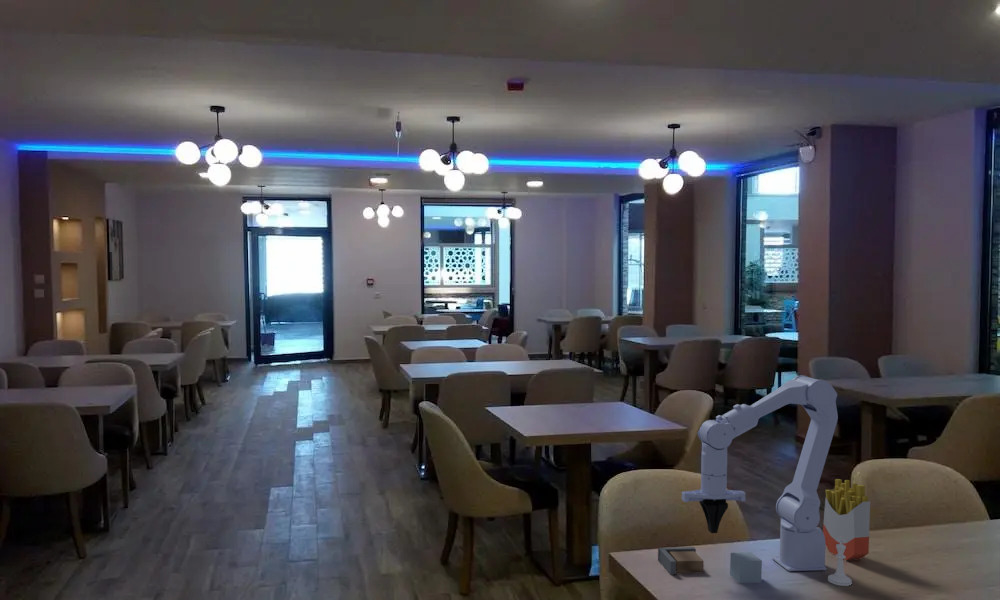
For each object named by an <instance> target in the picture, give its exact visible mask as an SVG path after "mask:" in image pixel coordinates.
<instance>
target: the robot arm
mask: <svg viewBox="0 0 1000 600" xmlns="http://www.w3.org/2000/svg"><path fill="white" fill-rule="evenodd" d="M837 397H838V393H837V391H836V390H835V388H834V386H833V385H832V384H831V383H830V382H829V381H827V380H823V379H817V378H813V377H809V376H807V375H803V374H802V375H801V374H800V375H797V376H795V377H794V378H792V379H789V380H786V381H785V382H784V383H783V384H782V385H781V386H780V387H778V388H777V389H775V390H773V391H772V392H770V393H769V394H767V395H765V396H764V397H762V398H761V399H759V400H758V401H755V402H754V403H752V404H751V405H748V404H746V403H742V404H738V403H737V404H735V405H733V406H732V409H731V410H729V411H727V412H726V413H724V414H722V415H720V414H718V415H717V416H715V419H708V420H705V421H704V422H703V423H702V424H701V426H700V427H699V430H698V431H697V436H698V438H699V440H700V441H701V462H700V464H701V465H700V466H701V467H700V469H701V470H700V472H701V473H700V489H695V490H687V491H681V501H683V502H684V503H689V502H698V503H699V504H700V506H701V509H702V511H703V513H704V517H705V520H706V524H707V529H708V532H709V533H710V534H718V531H719V527H720V523H721V521H722V519H723V516H724V514H725V513H726V512H727V510H728V509H729V508H728V507H729V503H728V502H727V501H729V502H730V501H740V502H746V492H745V491H744V490H734V489H733V490H732V489H727V488H728V487H727V486H728V484H727V483H728V447H730V445H731V444H732V441H733V439H735V438H737V437H739V436H741V435H742V434H744V433H746V432H748V431H750V430H751V429H753V428H755V427H757V425H758V422H759V419H760V418H762V417H764V416H766V415H768V414H770V413H773V412H775V411H777V410H778V409H781V408H782V407H785V406H786V405H789V404H792V405H801V406H802V408H804V410H805V412H806V413H807V415H808V416H809V417H810V422H809V425H808V428H807V429H808V430H807V432H806V436H805V440H804V443H803V445H802V449H801V453H800V456H799V459H798V463H797V466H796V468H795V469H796V470H795V473H794V476H793V479H792V482H791V483H789V484H788V485H786V486H785V487H784V490H783V492H782V494H781V495H780V497H779V498H778V499H777V501H776V504H775V511H776V514H777V515H778V517H780V528H779V529H780V534H779V537H780V538H779V556H772V560H773V561H775V562H776V563H777V564H779V566H781V567H782V568H783V569H785V570H786V571H788V572H803V571H805V572H807V571H808V572H809V571H827V567H826V544H825V537H824V534H823V529H821V527H819V526H818V525H819V523H820V519H821V516H820V506H821V500H820V498H819V495H818V492H817V490H818V487H819V484H820V480H821V477H822V474H823V470H824V467H825V464H826V460H827V456H828V455H829V451H830V447H831V443H832V440H833V437H834V434H835V430H836V428H837V427H836V426H837V424H838V419H839V417H838V416H839V415H838V409H837V403H836V401H837V399H838V398H837ZM817 526H818V527H817Z"/></svg>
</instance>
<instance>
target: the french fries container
mask: <svg viewBox="0 0 1000 600" xmlns="http://www.w3.org/2000/svg"><path fill="white" fill-rule="evenodd" d="M851 484H852V487H851V486H850V485H851ZM865 494H866V485H863V484H858V483H855V482H854V483H850V480H849V479H845V480H844V482H843V479H839V478H836V479H834V488H832V489H825V500H824V511H823V512H824V513H823V529H822V532H823V534H824V537H825V547H826V548H827V549H828V551H829V553H830V552H831V553H833V554H835V555H836V554H838V551H837V548H836V545H837V544H840V542H837V539H840V537H842V540H845V542H842V544H843V545H845V546H846V548H845V551H844V553H843V555H845V556H846V558H845V560H849V561H852V560H851V559H860V558H861V559H863V558H864V557H866V556H867V555H868V554H870V553H869V551H870V550H869V549H870V520H871V519H870V514H871V501H870V500H869V496H866V495H865ZM831 553H830V554H831ZM833 554H832V555H833ZM835 555H834V556H835ZM861 559H860V560H861ZM845 560H844V561H845Z"/></svg>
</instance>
